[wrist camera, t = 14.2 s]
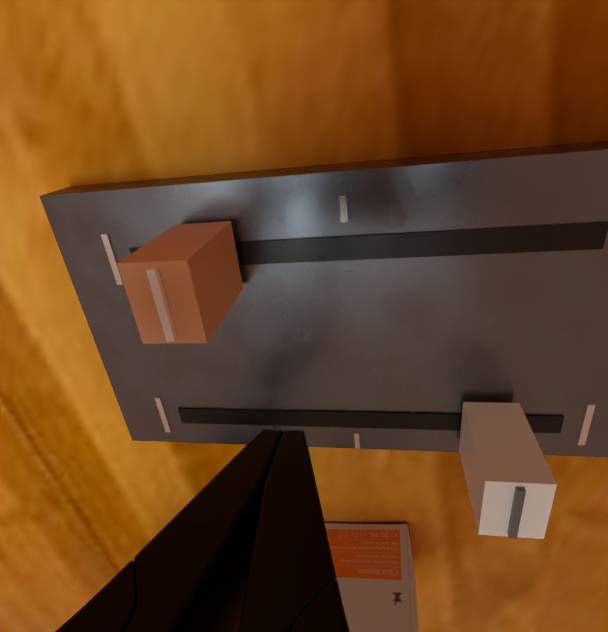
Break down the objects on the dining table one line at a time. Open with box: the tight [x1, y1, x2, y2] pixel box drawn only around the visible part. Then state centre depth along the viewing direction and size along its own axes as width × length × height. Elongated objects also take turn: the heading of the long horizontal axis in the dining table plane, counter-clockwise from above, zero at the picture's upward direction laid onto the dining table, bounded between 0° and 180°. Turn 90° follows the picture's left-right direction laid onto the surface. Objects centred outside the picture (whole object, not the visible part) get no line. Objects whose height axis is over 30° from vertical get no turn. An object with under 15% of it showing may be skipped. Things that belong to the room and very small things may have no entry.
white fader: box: [459, 402, 557, 539], centre depth 18 cm, size 3×2×5 cm
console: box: [40, 141, 608, 457], centre depth 20 cm, size 14×26×2 cm, turn 96°
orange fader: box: [117, 221, 243, 344], centre depth 16 cm, size 3×2×5 cm
